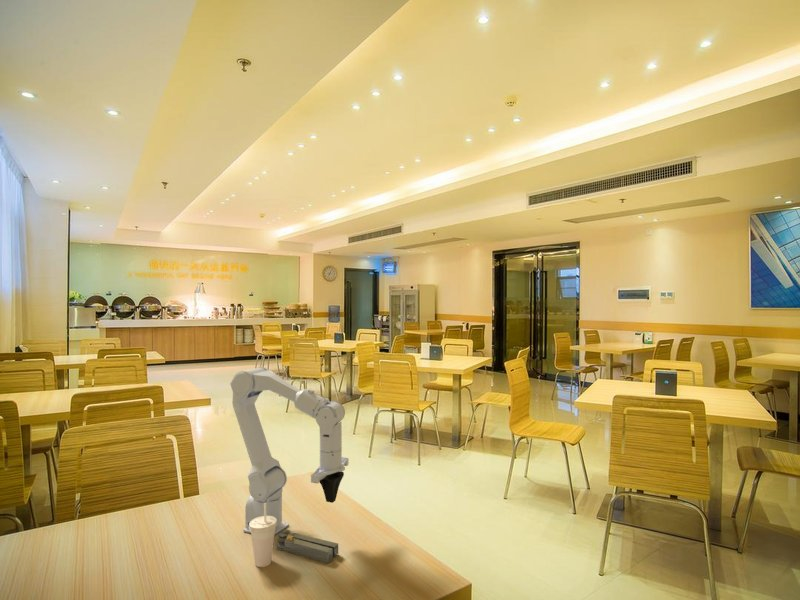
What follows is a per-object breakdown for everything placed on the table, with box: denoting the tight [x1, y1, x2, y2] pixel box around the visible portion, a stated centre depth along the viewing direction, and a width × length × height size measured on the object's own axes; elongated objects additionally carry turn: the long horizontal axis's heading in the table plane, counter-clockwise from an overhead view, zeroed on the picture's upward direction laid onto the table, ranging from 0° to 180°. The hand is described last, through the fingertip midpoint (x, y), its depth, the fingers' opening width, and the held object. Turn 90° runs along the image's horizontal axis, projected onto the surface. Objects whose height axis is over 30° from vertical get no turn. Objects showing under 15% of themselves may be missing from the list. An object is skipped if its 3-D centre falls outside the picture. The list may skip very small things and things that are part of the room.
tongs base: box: [276, 535, 334, 565], centre depth 110 cm, size 17×5×4 cm, turn 65°
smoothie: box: [249, 503, 277, 568], centre depth 105 cm, size 6×6×14 cm
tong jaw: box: [278, 529, 339, 559], centre depth 111 cm, size 17×3×3 cm, turn 66°
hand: (330, 501), depth 116 cm, fingers closed
